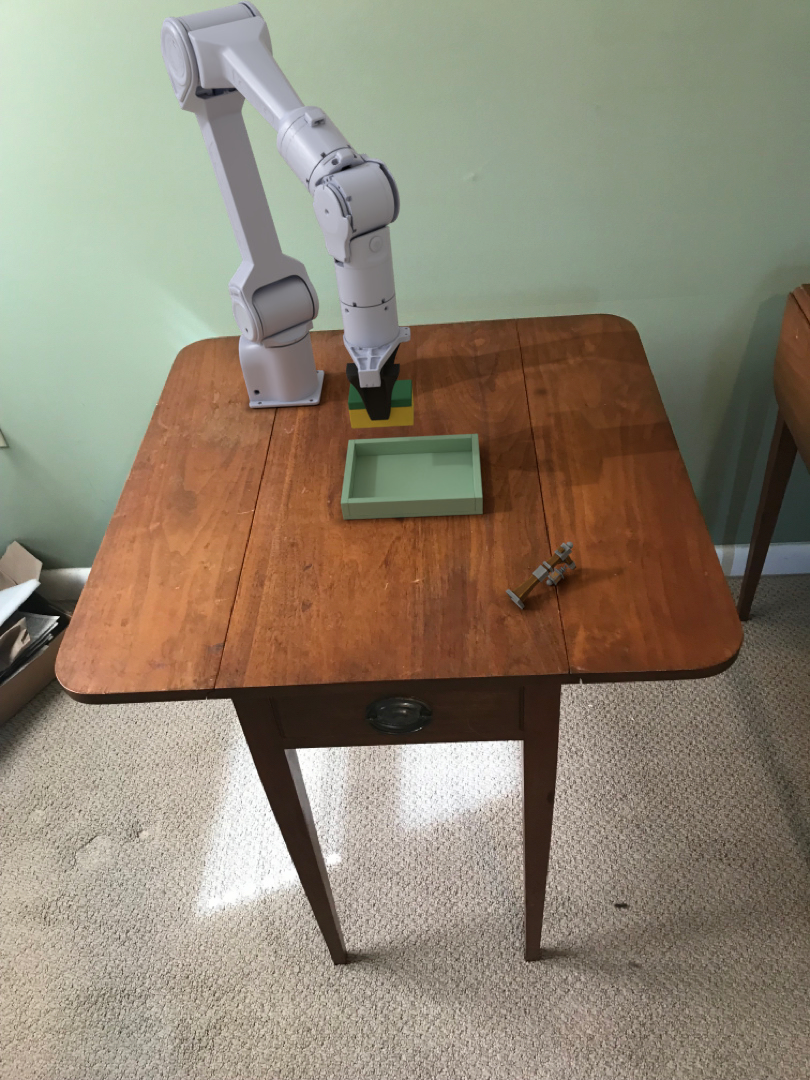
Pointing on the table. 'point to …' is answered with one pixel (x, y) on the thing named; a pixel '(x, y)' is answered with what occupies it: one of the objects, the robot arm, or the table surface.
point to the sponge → (399, 407)
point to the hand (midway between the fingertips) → (380, 406)
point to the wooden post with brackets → (544, 573)
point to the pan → (412, 477)
